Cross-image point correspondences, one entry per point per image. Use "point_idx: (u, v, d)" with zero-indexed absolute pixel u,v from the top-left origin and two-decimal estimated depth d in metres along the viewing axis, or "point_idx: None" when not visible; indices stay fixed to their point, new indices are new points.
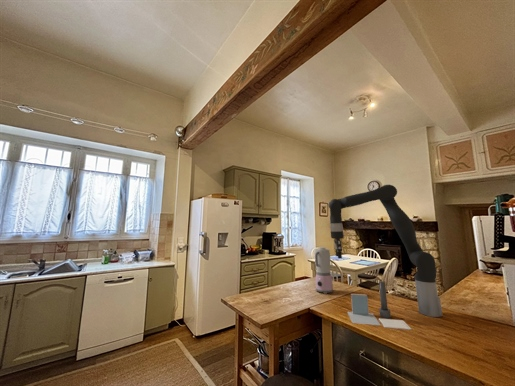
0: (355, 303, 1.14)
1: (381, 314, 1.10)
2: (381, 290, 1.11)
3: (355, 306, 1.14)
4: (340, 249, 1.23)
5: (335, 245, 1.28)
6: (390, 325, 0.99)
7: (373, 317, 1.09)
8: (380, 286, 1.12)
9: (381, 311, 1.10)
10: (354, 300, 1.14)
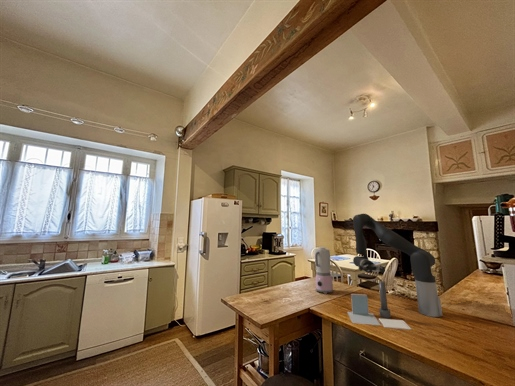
0: (355, 303, 1.14)
1: (381, 314, 1.10)
2: (381, 290, 1.11)
3: (355, 306, 1.14)
4: (359, 267, 1.31)
5: (368, 270, 1.31)
6: (390, 325, 0.99)
7: (373, 317, 1.09)
8: (380, 286, 1.12)
9: (381, 311, 1.10)
10: (354, 300, 1.14)
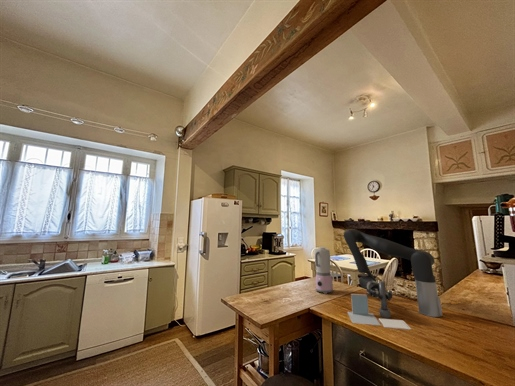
0: (355, 303, 1.14)
1: (381, 314, 1.10)
2: (381, 290, 1.11)
3: (355, 306, 1.14)
4: (372, 293, 1.15)
5: None
6: (390, 325, 0.99)
7: (373, 317, 1.09)
8: (380, 286, 1.12)
9: (381, 311, 1.10)
10: (354, 300, 1.14)
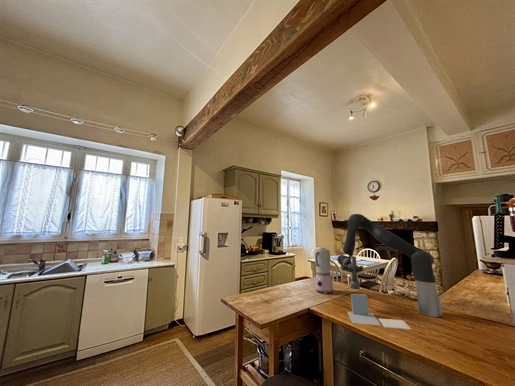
0: (355, 303, 1.14)
1: (351, 285, 1.22)
2: (352, 264, 1.23)
3: (355, 306, 1.14)
4: (345, 267, 1.27)
5: None
6: (390, 325, 0.99)
7: (373, 317, 1.09)
8: (351, 260, 1.24)
9: (351, 282, 1.22)
10: (354, 300, 1.14)
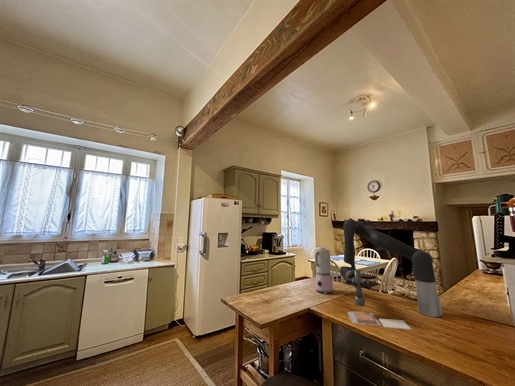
0: None
1: (356, 301, 1.13)
2: (356, 278, 1.14)
3: None
4: (348, 282, 1.18)
5: None
6: (390, 325, 0.99)
7: (373, 317, 1.09)
8: (355, 274, 1.15)
9: (356, 298, 1.13)
10: None
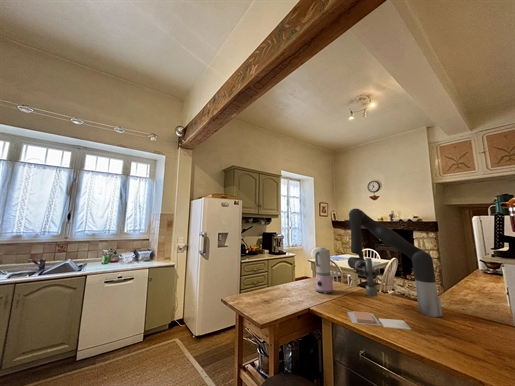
0: None
1: (367, 291, 1.06)
2: (367, 267, 1.08)
3: None
4: (359, 271, 1.12)
5: None
6: (390, 325, 0.99)
7: (373, 317, 1.09)
8: (366, 263, 1.09)
9: (367, 288, 1.06)
10: None
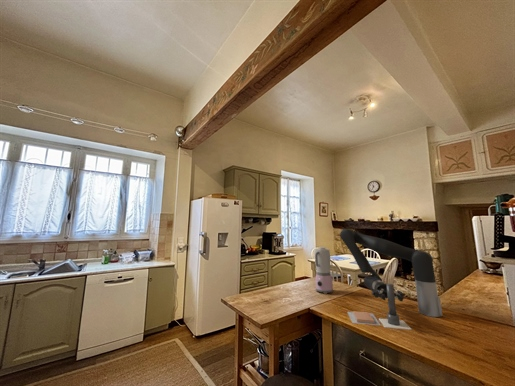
0: None
1: (389, 319, 1.01)
2: (389, 293, 1.03)
3: None
4: (375, 293, 1.08)
5: None
6: (390, 325, 0.99)
7: (373, 317, 1.09)
8: (388, 289, 1.03)
9: (389, 316, 1.01)
10: None
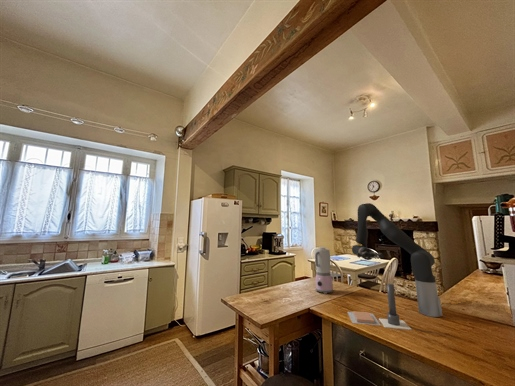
0: None
1: (389, 319, 1.01)
2: (389, 293, 1.03)
3: None
4: (358, 254, 1.30)
5: (366, 257, 1.30)
6: (390, 325, 0.99)
7: (373, 317, 1.09)
8: (388, 289, 1.03)
9: (389, 316, 1.01)
10: None
